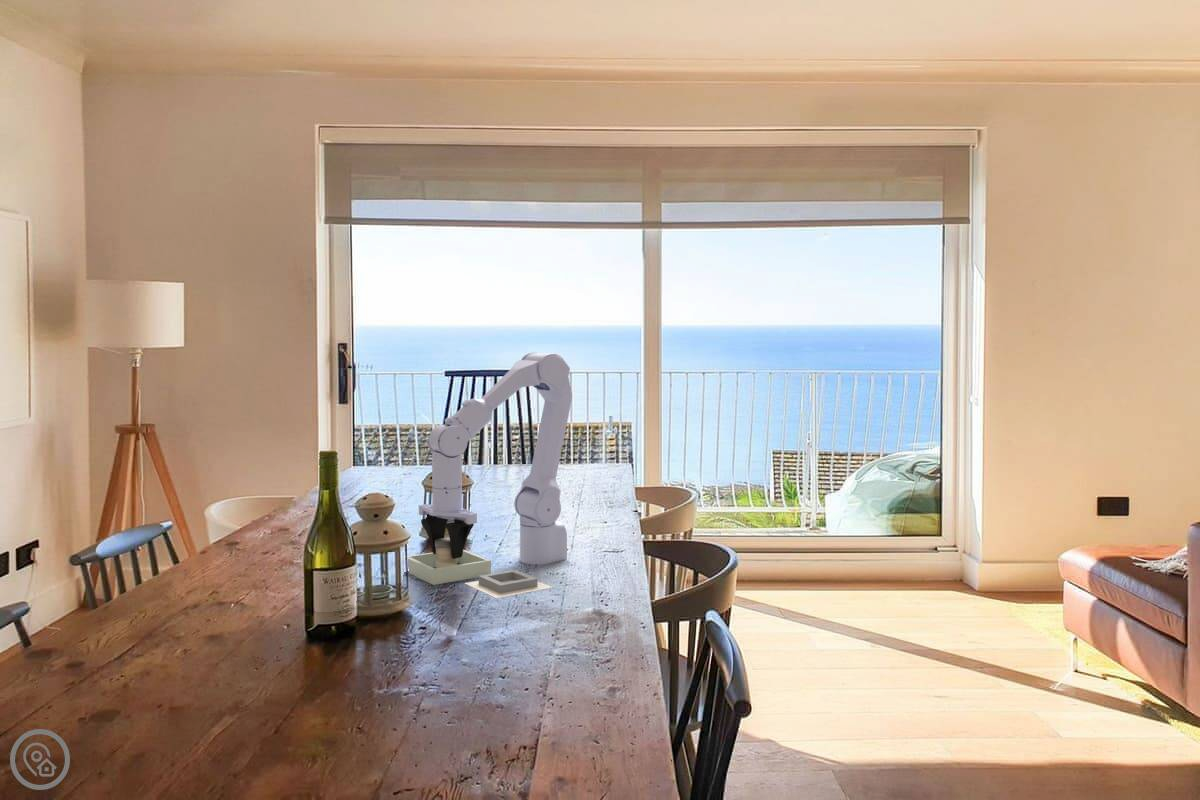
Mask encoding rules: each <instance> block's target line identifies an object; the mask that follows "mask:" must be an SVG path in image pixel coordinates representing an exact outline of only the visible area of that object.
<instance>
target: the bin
mask: <svg viewBox="0 0 1200 800" xmlns="http://www.w3.org/2000/svg"><path fill="white" fill-rule="evenodd" d="M407 557H408V567H409V573H408V574H410V575H412V576H415V577H416V578H418V579H419V580H422V581H424V582H426V583H429V584H430V585H432V586H436V585H441V584H447V583H452V582H458V581H463V580H465V581H466V580H469V579H476V578H479V576H481V575H487V574H492V560H490V559H488V558H486V557H483V556H480V555H478V554H476V553H473V552H471V551H469V550H465V549H464V550H463V554H462V557H460V558H457V565H454V566H448V567H442V568H436V554H433V552H428V553H420V554H414V555H413V554H412V555H407Z"/></svg>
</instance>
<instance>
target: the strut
mask: <svg viewBox="0 0 1200 800" xmlns="http://www.w3.org/2000/svg"><path fill="white" fill-rule="evenodd" d="M435 547H436V567H435V568H442V567H448V566H454V565H458V563H457V558H456V559H453V558H452V556H451V544H450V537H444V538H440V539H436V540H435Z"/></svg>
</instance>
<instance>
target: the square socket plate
mask: <svg viewBox="0 0 1200 800" xmlns="http://www.w3.org/2000/svg"><path fill="white" fill-rule="evenodd" d="M463 584H464V585H467V586H469V587H471V588H473V589H475V590H478V591H480V592H482V593H484V594H486V595H488V596H491V597H493V598H495V599H500V598H506V597H511V596H517V595H522V594H526V593H532V592H536V591H542V590H543V591H544V590H547V589H552V588H553V587H552V586H551V585H547V584H546V583H542V582H540V581H538V578H537V577H535V576H532V575H529V574H527V573H524V572H521V571H520V570H517V569H512V570H504V571H500V572H493V573H492V572H491V574H487V575H481V576H479V577H478V579H477V580H474V581H473V580H472V581H468V582H464V583H463Z"/></svg>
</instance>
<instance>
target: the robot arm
mask: <svg viewBox="0 0 1200 800" xmlns="http://www.w3.org/2000/svg"><path fill="white" fill-rule="evenodd" d="M570 370H571V367H569V365H568V363H567V362H566V361H565V360H564V358H563V357H562V356H561V355H560V354H557V353H538V352H534V351H533V352H532V351H531V352H528V353H526V354H524V355H523V357H521V359H519V360H517V361H515V362H514V364H513V365H512V367H511V368H510V369H509V370H508V371H507V372H506V373H505V374H504V375H503V376H502V377H501V378H500V379H499V380H498V381H497V382H496V383H495V384H494V385H493V386H492V387H491V388H490V389H489V390H488V391H487V392H485V394H484V395H483V396H481V398H471V399H470V400H468V399H467V400H465V401H463V402H462V403H461V406H462V407H461V408H460V409H459V410H457V411H456V412H455V413H454V414H453V415H452V416H451V417H449V416H448V417H446V418H445V419H444V424H439V425H437V426H435V427H433V429H432V430H431V431H430V433H429V434H430V435H428V438H427V439H426V444H427V447H428V449H429V450H430V451H431V457H432V459H431V460H432V462H431V469H432V470H431V473H432V474H431V475H432V476H431V478H432V479H431V486H432V487H431V488H432V489H431V493H432V504H430V503H429V504H428V503H423V504H419V505H418V515H419V516H425V517H424V518H422V519H420V523H421V525H422V526H423V529H424V530H425V532H426V535H427V536H428V540H429V544H430V547H431V551H432V552H433V554H436V547H435V540H436V539H440V538H445V535H446V534H445V533H446V529H447V533H448V538H450V544H451V556H452V558H453V559H456V558H460V557H462V554H463V550H465V547H466V543H467V540H468V537H469V535H470V533H471V531H472V529H473V527H474V525H475V524H477V523H478V513H477V512H473V511H470V510H468V509H466V508H463V487H462V486H463V461H462V459H463V457H462V456H463V454H462V453H464V452H465V451H466V449H467V447H468V443H469V441H471V439H472V438H473V437H474V436H476V435H477V434H478V433H479V432H480V431H481V430H482V429H483V428H484V427H486V426H487V424H489V423H490V422H491V421H492V418H493V412H494V410H496V408H498V407H499V406H501V405H502V404H503V403H504V402H505V401H507V400H508V399H509V398H510V397H512V396H513V395H514V394H515V393H517V392H518V391H519V390H520V389H522V388H526V387H533V388H535V389H536V390H537V392H538V394H539V395H540V397H541V398H543V400H544V403H543V407H542V413H541V418H540V423H539V428H538V433H537V437H536V442H535V449H534V452H533V456H532V462H531V466H530V467H531V468H530V471H529V475H527V477H526V478H524V480H523V481H522V483H521V487H520V490H519V492H518V493H517V494H516V496H515V498H514V501H513V503H514V504H513V505H514V506H513V507H514V510H515V512H516V513H517V514H518V515H519V561H520V562H521V563H523V564H527V565H547V564H551V563H555V562H558V561H565V560H566V561H567V560H568V533H567V529H566V527H565V524H564V523H563V522H562V521H560V520H558V518H560V516H561V512H562V504H561V500H560V498H561V489H560V486H559V484H558V481H557V476H558V475H557V474H558V469H559V464H560V459H561V454H562V449H563V445H564V440H565V435H566V429H567V424H568V420H569V416H570V411H571V405H572V404H571V403H572V400H573V392H572V388H571V383H570V382H571V381H570V378H569V375H570ZM450 520H451V521H452V522H448V521H450ZM432 552H431V553H432Z"/></svg>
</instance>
